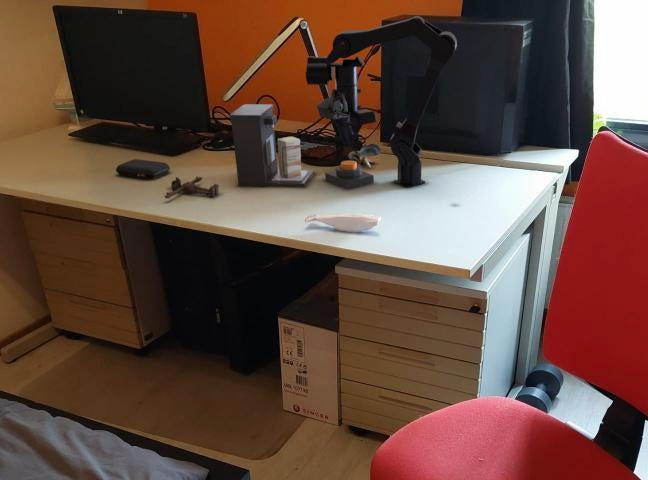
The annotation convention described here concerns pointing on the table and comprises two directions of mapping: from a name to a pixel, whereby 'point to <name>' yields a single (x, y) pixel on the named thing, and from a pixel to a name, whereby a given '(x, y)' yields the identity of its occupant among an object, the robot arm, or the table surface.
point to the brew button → (348, 165)
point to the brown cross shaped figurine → (191, 188)
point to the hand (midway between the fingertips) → (348, 145)
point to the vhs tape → (308, 145)
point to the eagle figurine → (365, 154)
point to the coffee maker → (259, 149)
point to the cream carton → (289, 157)
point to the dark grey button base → (349, 177)
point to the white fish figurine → (347, 221)
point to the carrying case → (143, 169)
